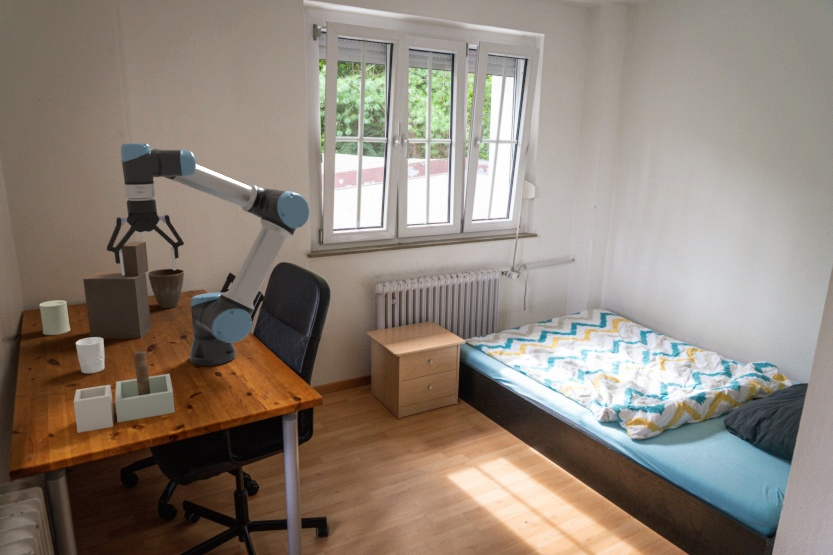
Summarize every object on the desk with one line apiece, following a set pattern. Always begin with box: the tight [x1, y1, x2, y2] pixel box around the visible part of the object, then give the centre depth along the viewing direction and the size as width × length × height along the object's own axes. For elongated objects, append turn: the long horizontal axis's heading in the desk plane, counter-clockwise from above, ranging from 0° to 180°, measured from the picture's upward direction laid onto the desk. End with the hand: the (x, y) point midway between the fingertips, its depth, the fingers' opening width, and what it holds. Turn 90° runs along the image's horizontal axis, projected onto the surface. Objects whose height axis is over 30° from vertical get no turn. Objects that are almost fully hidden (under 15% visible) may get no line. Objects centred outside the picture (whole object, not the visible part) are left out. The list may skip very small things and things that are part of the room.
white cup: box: [75, 336, 106, 374], centre depth 186 cm, size 8×8×10 cm
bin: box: [114, 373, 175, 423], centre depth 159 cm, size 14×14×7 cm
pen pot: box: [73, 384, 115, 434], centre depth 149 cm, size 8×8×10 cm
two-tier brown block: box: [82, 241, 152, 339], centre depth 221 cm, size 19×14×35 cm
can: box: [38, 299, 71, 336], centre depth 223 cm, size 9×9×12 cm
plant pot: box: [147, 268, 185, 309], centre depth 259 cm, size 15×15×16 cm
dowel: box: [133, 350, 150, 396], centre depth 158 cm, size 3×3×16 cm
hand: (149, 271), depth 167 cm, fingers open, 13 cm apart
